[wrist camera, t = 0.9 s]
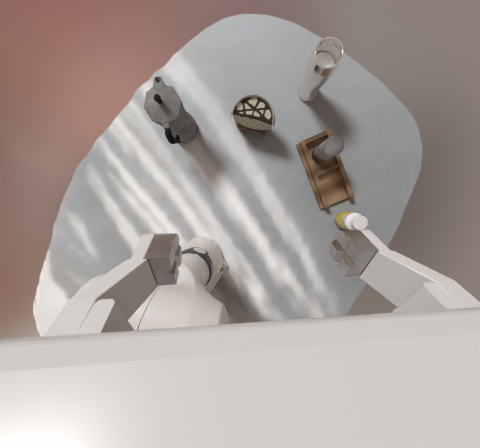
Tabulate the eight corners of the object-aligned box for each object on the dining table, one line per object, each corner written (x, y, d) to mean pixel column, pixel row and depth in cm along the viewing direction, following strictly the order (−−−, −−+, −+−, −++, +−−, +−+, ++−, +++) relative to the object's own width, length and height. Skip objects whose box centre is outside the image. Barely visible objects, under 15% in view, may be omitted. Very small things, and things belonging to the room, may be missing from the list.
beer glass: (322, 97, 57) (349, 60, 42) (301, 107, 57) (320, 74, 42) (314, 75, 56) (338, 29, 41) (292, 85, 57) (309, 44, 42)
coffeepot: (165, 109, 59) (130, 69, 41) (194, 104, 58) (170, 61, 41) (174, 158, 61) (144, 141, 43) (202, 153, 60) (184, 133, 42)
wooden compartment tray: (352, 195, 60) (375, 194, 49) (320, 208, 61) (335, 210, 50) (328, 130, 58) (347, 114, 47) (295, 145, 59) (306, 133, 48)
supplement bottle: (354, 217, 61) (374, 220, 51) (343, 231, 61) (361, 236, 52) (341, 208, 61) (359, 209, 51) (330, 221, 61) (346, 225, 52)
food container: (275, 116, 58) (281, 99, 48) (270, 136, 59) (275, 123, 49) (238, 106, 58) (236, 87, 48) (233, 126, 59) (230, 111, 49)
